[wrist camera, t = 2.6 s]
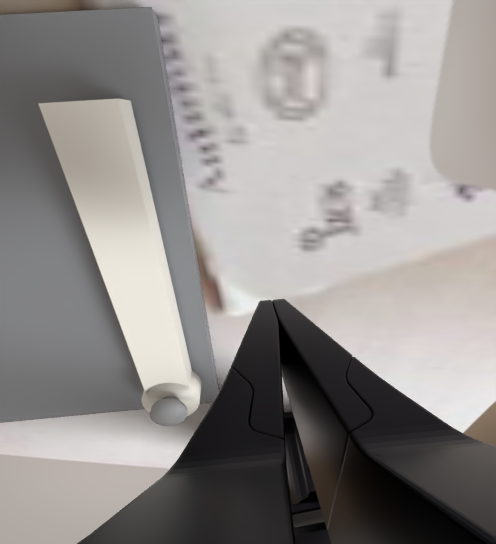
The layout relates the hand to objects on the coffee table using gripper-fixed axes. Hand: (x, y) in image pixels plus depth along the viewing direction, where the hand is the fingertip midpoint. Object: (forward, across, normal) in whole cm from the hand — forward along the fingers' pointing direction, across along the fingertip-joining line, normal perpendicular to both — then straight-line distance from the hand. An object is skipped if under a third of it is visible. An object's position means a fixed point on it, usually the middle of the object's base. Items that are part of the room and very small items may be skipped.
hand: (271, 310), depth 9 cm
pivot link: (+7, +6, +3) cm, 10 cm away
